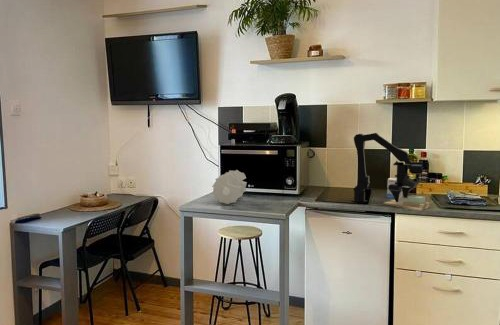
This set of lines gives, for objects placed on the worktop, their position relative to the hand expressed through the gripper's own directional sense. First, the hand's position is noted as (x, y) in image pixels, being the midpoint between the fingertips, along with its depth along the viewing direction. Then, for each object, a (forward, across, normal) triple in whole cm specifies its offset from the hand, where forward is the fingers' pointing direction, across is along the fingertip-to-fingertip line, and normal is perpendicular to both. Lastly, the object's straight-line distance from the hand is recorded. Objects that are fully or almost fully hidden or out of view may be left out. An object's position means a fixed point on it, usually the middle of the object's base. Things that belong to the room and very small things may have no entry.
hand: (401, 200), depth 218 cm
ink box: (+2, +15, +12) cm, 20 cm away
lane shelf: (+2, 0, -3) cm, 4 cm away
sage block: (+1, 0, -5) cm, 5 cm away
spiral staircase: (+2, -64, +74) cm, 98 cm away
